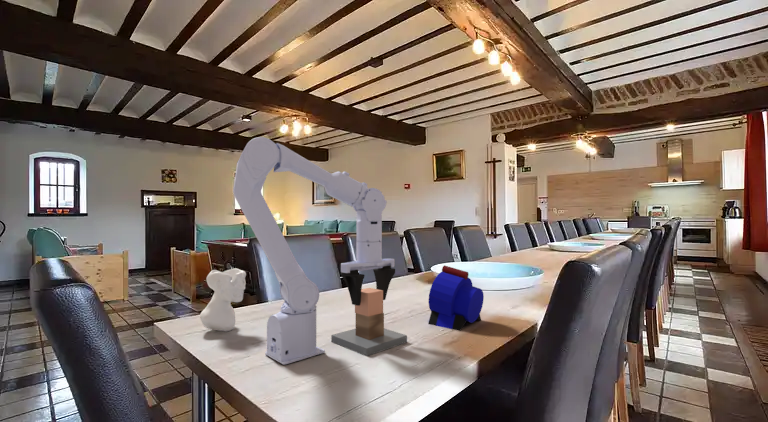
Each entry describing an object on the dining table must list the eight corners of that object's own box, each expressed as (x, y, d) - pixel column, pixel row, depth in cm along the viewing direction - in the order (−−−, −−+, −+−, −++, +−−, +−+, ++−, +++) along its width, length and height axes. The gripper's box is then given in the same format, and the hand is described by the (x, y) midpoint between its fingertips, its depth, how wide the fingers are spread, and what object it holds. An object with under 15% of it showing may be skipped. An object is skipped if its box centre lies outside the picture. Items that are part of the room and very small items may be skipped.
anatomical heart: (220, 323, 96) (220, 266, 97) (257, 327, 93) (257, 268, 93) (191, 334, 87) (192, 271, 87) (231, 338, 84) (231, 273, 84)
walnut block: (368, 340, 78) (368, 316, 78) (355, 335, 82) (355, 312, 82) (383, 335, 81) (383, 313, 82) (370, 331, 85) (370, 309, 85)
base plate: (366, 356, 73) (366, 348, 73) (331, 341, 82) (331, 335, 82) (406, 342, 81) (406, 335, 81) (371, 330, 90) (371, 324, 90)
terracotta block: (368, 316, 79) (368, 293, 79) (354, 312, 82) (354, 290, 82) (383, 312, 82) (383, 290, 82) (369, 309, 85) (369, 287, 85)
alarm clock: (448, 314, 106) (447, 262, 106) (488, 321, 98) (488, 266, 98) (425, 323, 96) (425, 267, 96) (468, 332, 88) (468, 271, 89)
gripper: (355, 243, 74) (355, 310, 74) (403, 240, 84) (404, 299, 84) (334, 242, 79) (334, 304, 79) (382, 239, 89) (382, 295, 89)
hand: (369, 302), depth 82 cm, fingers open, 7 cm apart
